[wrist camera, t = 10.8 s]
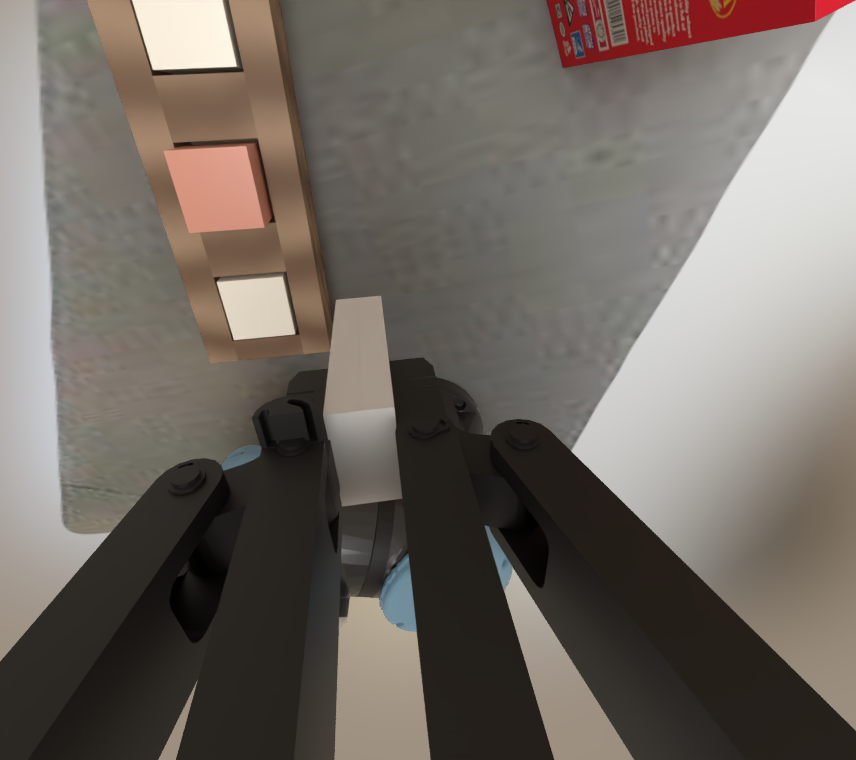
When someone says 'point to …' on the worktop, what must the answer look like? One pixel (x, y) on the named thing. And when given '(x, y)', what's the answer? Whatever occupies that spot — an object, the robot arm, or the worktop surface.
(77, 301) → the worktop surface
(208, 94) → the mount
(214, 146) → the middle button
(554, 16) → the food packaging
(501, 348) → the worktop surface
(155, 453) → the worktop surface
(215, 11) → the near button
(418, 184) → the worktop surface
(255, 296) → the far button
